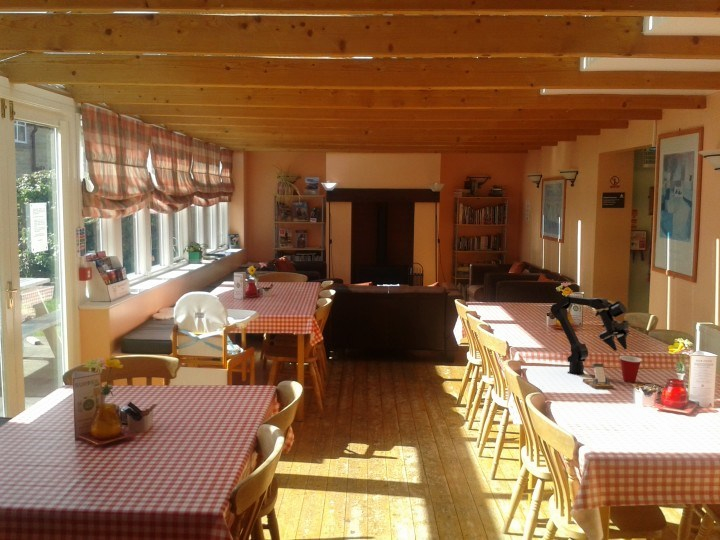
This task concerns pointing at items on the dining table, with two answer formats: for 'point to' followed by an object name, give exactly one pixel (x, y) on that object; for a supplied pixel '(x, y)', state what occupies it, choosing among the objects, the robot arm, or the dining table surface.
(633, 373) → the plastic cup
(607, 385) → the switch base
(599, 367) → the switch lever
